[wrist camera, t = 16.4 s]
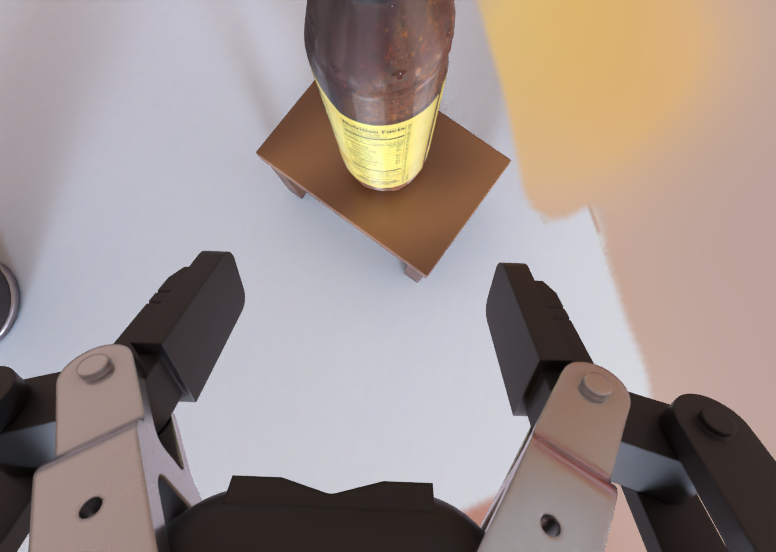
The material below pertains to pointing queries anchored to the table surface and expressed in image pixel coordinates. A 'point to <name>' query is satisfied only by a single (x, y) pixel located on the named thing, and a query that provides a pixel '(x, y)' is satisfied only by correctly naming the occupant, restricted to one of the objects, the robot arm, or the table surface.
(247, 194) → the table surface
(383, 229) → the small brown wooden table
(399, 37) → the sauce bottle
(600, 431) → the robot arm
